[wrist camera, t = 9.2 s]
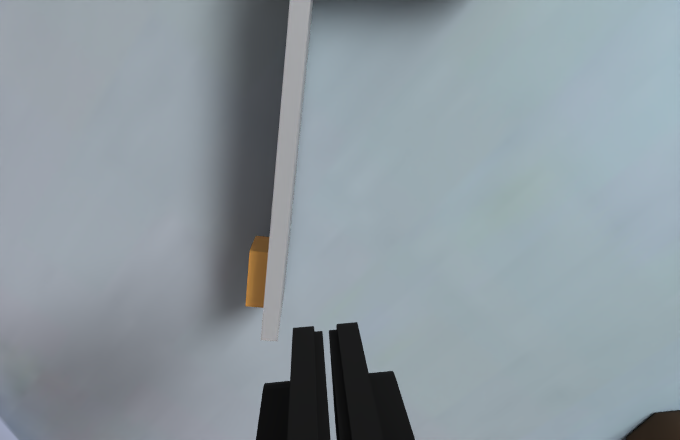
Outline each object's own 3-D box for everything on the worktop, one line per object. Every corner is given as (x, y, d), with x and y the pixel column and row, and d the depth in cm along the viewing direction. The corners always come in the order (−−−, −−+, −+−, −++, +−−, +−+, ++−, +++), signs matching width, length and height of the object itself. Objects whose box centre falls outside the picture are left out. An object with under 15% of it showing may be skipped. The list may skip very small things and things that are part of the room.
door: (317, -23, 22) (320, -72, 15) (286, 287, 26) (279, 344, 20) (280, -29, 21) (268, -81, 15) (255, 285, 26) (238, 341, 20)
